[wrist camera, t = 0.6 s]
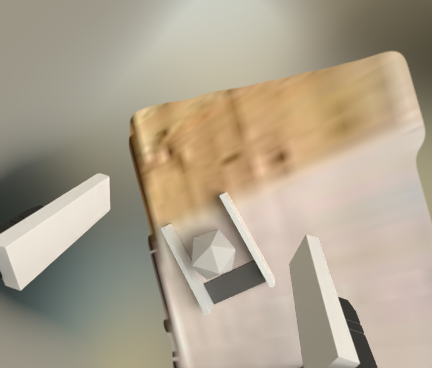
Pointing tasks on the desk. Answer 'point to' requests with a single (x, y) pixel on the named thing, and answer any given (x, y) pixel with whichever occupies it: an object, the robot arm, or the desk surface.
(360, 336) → the robot arm
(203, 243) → the die
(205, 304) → the grey u-shaped frame
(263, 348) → the desk surface
